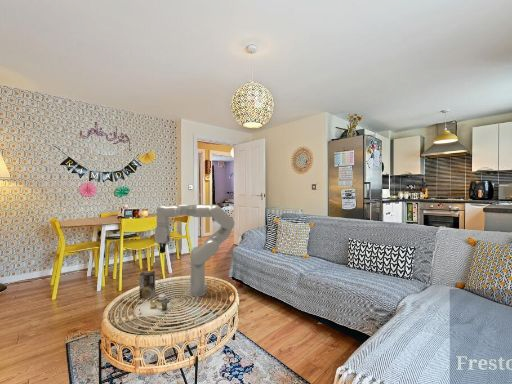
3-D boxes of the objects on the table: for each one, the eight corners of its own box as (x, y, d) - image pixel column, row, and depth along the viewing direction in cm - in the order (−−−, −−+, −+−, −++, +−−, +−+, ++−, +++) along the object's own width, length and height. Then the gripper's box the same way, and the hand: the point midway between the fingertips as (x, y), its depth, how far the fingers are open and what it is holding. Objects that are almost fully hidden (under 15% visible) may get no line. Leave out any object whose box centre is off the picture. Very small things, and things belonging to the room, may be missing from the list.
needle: (148, 307, 143) (148, 301, 143) (153, 304, 147) (153, 298, 147) (164, 311, 139) (165, 304, 139) (169, 308, 143) (169, 302, 142)
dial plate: (156, 299, 158) (156, 294, 158) (178, 307, 148) (178, 302, 148) (127, 312, 141) (127, 307, 141) (149, 322, 131) (149, 316, 131)
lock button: (162, 299, 153) (162, 293, 153) (166, 301, 151) (166, 294, 151) (157, 302, 150) (157, 295, 150) (161, 303, 148) (161, 297, 148)
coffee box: (155, 294, 164) (155, 270, 164) (154, 299, 158) (154, 274, 158) (140, 296, 161) (140, 272, 161) (139, 300, 155) (139, 275, 155)
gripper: (150, 224, 161) (150, 252, 162) (165, 226, 154) (165, 255, 154) (160, 223, 168) (159, 249, 168) (175, 225, 160) (174, 253, 160)
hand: (162, 252), depth 161 cm, fingers closed
